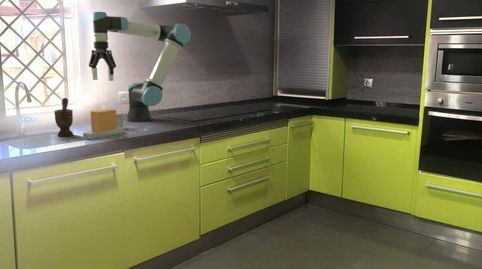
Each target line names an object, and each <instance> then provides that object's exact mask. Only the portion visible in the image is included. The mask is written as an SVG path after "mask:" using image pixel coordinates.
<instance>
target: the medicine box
mask: <svg viewBox="0 0 482 269" xmlns="http://www.w3.org/2000/svg"><path fill="white" fill-rule="evenodd" d="M123 117H124V116H123V112H116V120H117V127H124V118H123Z"/></svg>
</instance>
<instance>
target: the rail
mask: <svg viewBox="0 0 482 269" xmlns="http://www.w3.org/2000/svg"><path fill="white" fill-rule="evenodd" d="M125 128H126V127H124V126H123V127H117V129H115V130H109V131H104V132H94V131H92V130H91V131H86V132H83V133H82V136H83V137H82V138H83V139H84V140H88V139H92V140H96V139H95V138H97V139H101V137H103V138H106V136H108V137H113V136H117V134H118V135H122V134H125V133H126V130H125ZM112 135H113V136H112Z"/></svg>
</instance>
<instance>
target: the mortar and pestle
mask: <svg viewBox="0 0 482 269" xmlns="http://www.w3.org/2000/svg"><path fill="white" fill-rule="evenodd" d="M61 104H62V106H61V108H62V109H57V110H56V109H55V110H54V120H55V124H56V126H57V127H58V129H59V131H58V134H57V137H71V136H73V135H74V133H73V131H71V129H70V127H71V126H72V125H73V119H74V117H73V115H74V114H73V109H71V108H68V105H69V99H68V98H67V97H64V98H62V100H61Z"/></svg>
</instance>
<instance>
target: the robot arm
mask: <svg viewBox="0 0 482 269" xmlns="http://www.w3.org/2000/svg"><path fill="white" fill-rule="evenodd" d="M91 22H92V23H91V24H92V35H93V39H92V40H93V48H94V49H92V50H91V54H90V59H89V62H88V67H89V68H91V74H92V81H96V80H99V78H98V68H97V66H98V64H99V61H100V60H101V59H103V60H104V62H105V63H106V65H107V67H108V68H107V72H108V75H107V76H108V82H110V81H111V82H112V81H115V80H114V79H115V78H114V74H115V73H114V72H115V71H114V69H115V68H117V64H116V62H115V59H114V57H113V56H114V55H113V53H112V50H111V49H108V48H109V42H108V40H109V37H108V35H109V33H108V32H110V33H117V34H124V35H131V36H137V37H143V38H150V39H153V40H154V41H159V42H162V43H164V46H163V48H162V49H161V52H160V55H159V57H158V59H156V63H155V65H154V67H153V69H152V71H151V73H150V76H149V77H148V78H147V79H145V80H144V81H143V82H135V83H129V84H128V89H127V91H128V107H129V108H128V113H127V116H126V121H127V122H130V123H131V122H135V123H137V122H149V121H152V119H153V118H152V114H151V111H150V108H149V107H153V106H157V105H159V104H160V103H161V101H162V99H163V89H164V87H163V83H164V82H165V80H166V77H167V75H168V74H169V71H170V69H171V67H172V64H173V62H174V61H175V58H176V56H177V55H178V52H179V51H180V50H183V47H184V45H185V44H187V43H188V42H189V41H190V40H191V37H192V36H191V34H192V33H191V30H190V28H189V27H188V25H186V24H185V23H175V24H173V23H171V24H163V25H161V24H155V25H151V24H147V23H140V22H133V21H129V19H128V18H127V17H126V16H110V15H107V12H105V11H93V12H92V13H91Z"/></svg>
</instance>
